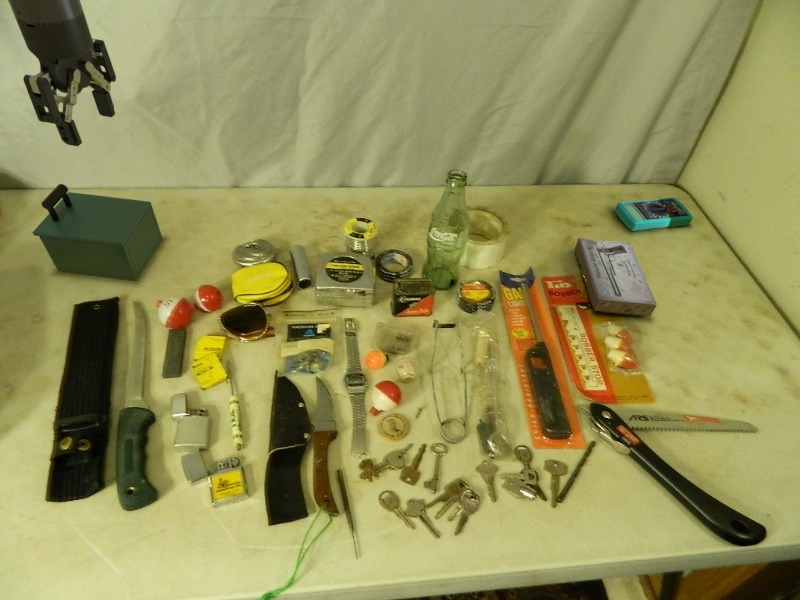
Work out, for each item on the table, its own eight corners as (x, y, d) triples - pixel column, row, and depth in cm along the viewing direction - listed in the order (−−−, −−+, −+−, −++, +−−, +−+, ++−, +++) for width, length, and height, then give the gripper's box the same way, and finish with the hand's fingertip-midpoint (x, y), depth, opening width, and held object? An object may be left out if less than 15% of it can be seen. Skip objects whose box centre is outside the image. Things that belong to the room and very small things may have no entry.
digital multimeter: (690, 226, 112) (697, 215, 110) (629, 233, 109) (635, 221, 107) (671, 205, 117) (677, 194, 115) (611, 211, 114) (616, 200, 112)
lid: (33, 235, 84) (20, 212, 81) (70, 195, 92) (59, 172, 89) (122, 246, 84) (113, 223, 81) (151, 204, 92) (144, 181, 88)
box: (591, 312, 92) (598, 300, 89) (572, 248, 104) (578, 236, 102) (651, 318, 92) (659, 306, 90) (625, 254, 104) (632, 241, 102)
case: (58, 271, 90) (38, 236, 84) (90, 230, 98) (74, 196, 92) (136, 281, 90) (122, 246, 84) (163, 239, 98) (151, 205, 92)
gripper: (55, -14, 70) (95, 102, 82) (-23, 23, 60) (35, 150, 72) (109, -5, 70) (141, 111, 81) (39, 34, 60) (87, 159, 72)
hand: (91, 129), depth 77 cm, fingers open, 8 cm apart
